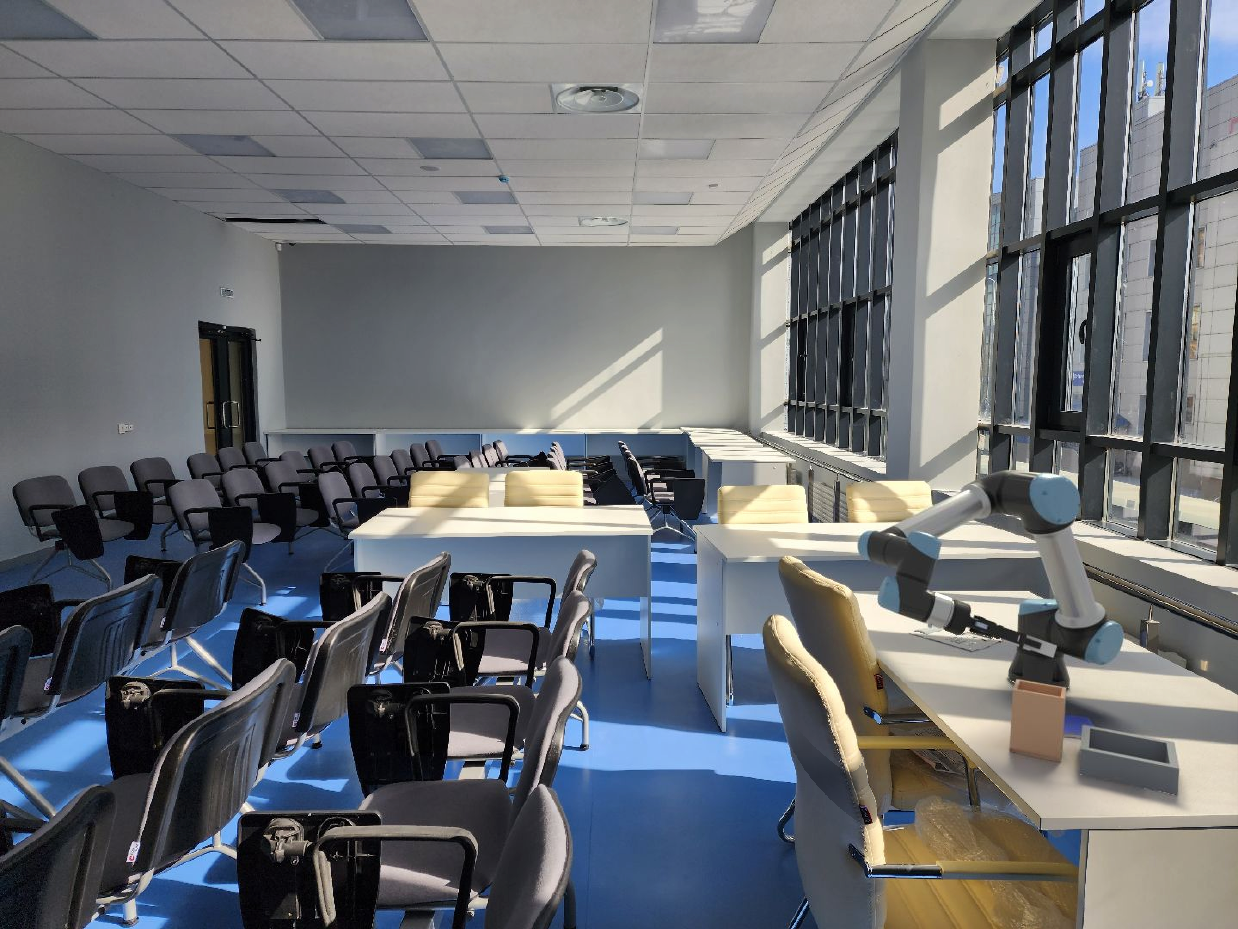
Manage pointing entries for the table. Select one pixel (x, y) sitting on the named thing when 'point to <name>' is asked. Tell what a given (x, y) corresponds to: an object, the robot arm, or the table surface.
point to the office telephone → (958, 641)
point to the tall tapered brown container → (1037, 720)
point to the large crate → (1129, 759)
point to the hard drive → (1075, 725)
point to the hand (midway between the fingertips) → (1042, 648)
